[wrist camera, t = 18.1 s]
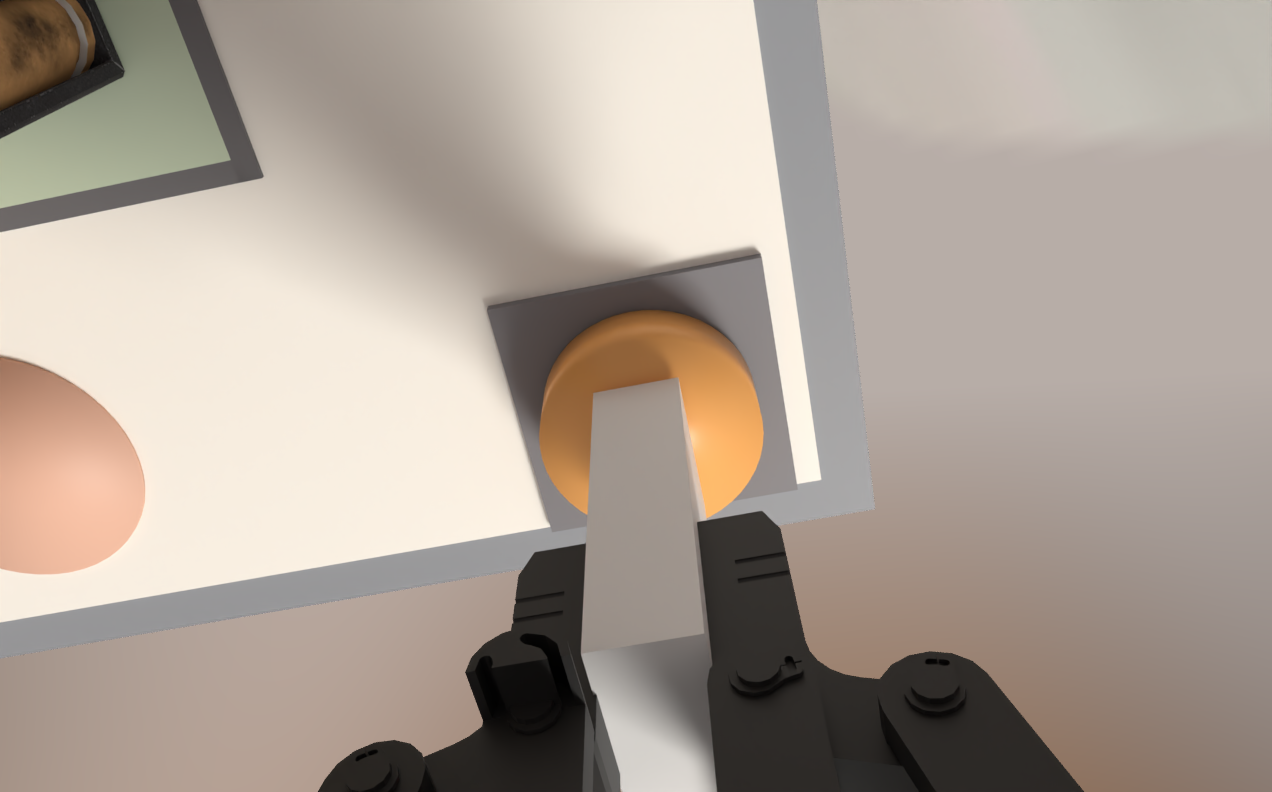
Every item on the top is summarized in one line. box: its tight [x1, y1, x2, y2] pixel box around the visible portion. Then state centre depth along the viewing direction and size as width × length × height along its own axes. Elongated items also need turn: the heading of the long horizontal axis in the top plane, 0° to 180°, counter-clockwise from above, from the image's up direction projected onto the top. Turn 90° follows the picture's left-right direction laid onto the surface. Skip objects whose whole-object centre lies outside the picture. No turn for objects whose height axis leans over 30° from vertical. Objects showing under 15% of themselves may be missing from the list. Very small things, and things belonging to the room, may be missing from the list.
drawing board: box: [0, 0, 875, 658], centre depth 19 cm, size 16×25×1 cm, turn 101°
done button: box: [539, 310, 764, 518], centre depth 20 cm, size 4×4×1 cm
